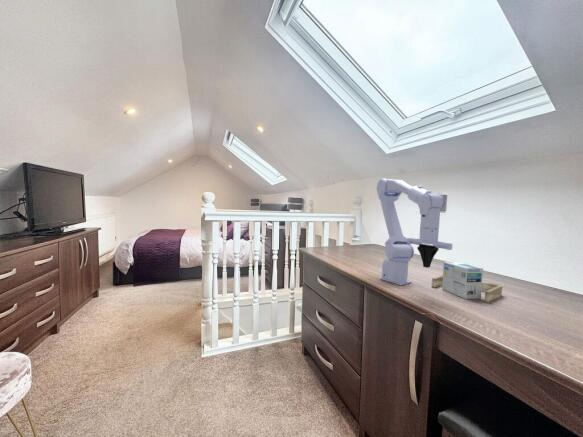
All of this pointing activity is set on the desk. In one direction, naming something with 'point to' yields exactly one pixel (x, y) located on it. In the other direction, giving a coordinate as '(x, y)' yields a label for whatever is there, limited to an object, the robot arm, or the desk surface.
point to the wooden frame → (490, 289)
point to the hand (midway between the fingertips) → (426, 266)
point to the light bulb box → (462, 280)
